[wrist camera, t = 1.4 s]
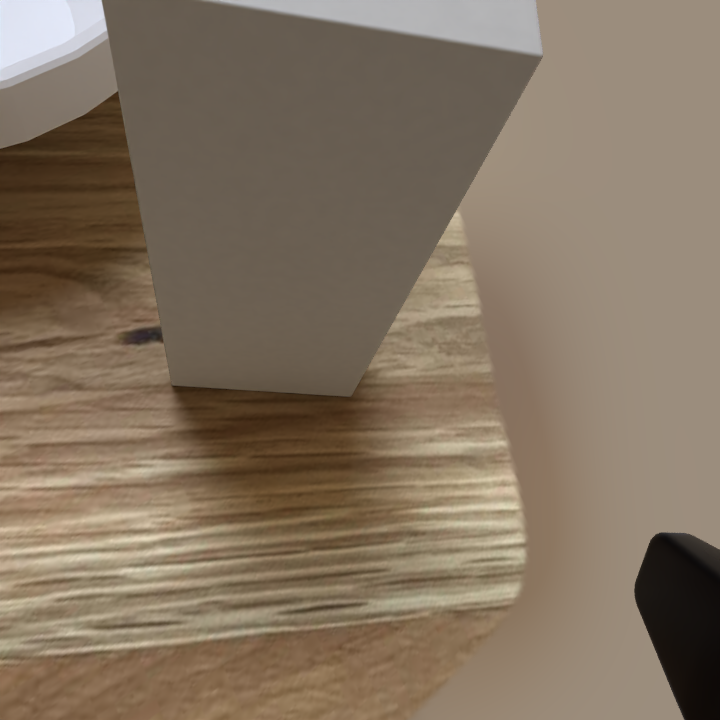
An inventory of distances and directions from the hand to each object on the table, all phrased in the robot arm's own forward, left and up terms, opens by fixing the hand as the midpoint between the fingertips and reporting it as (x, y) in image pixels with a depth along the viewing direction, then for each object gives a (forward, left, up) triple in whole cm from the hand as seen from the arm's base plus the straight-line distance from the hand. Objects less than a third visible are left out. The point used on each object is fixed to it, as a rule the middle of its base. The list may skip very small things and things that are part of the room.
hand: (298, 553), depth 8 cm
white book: (+7, -3, -13) cm, 16 cm away
